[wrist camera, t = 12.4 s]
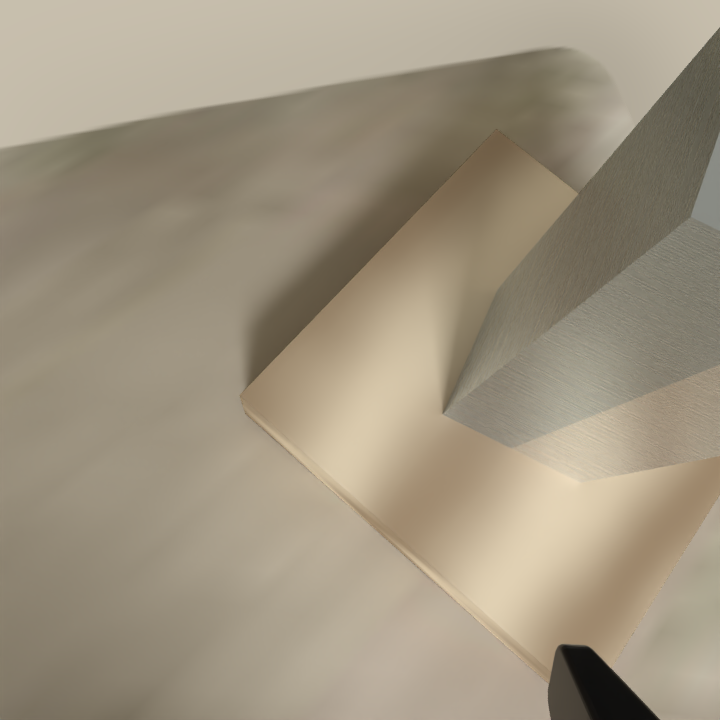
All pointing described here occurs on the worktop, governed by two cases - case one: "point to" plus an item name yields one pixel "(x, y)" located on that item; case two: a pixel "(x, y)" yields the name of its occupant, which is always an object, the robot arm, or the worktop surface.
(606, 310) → the block
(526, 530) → the shallow cream tray
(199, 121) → the worktop surface
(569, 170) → the worktop surface
